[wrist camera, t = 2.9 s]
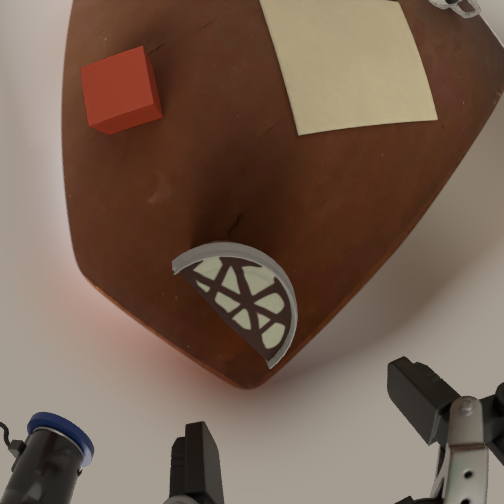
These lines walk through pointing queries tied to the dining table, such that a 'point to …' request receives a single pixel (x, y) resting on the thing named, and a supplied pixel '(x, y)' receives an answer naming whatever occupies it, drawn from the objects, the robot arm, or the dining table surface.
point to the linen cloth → (348, 63)
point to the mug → (457, 7)
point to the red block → (121, 92)
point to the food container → (244, 293)
